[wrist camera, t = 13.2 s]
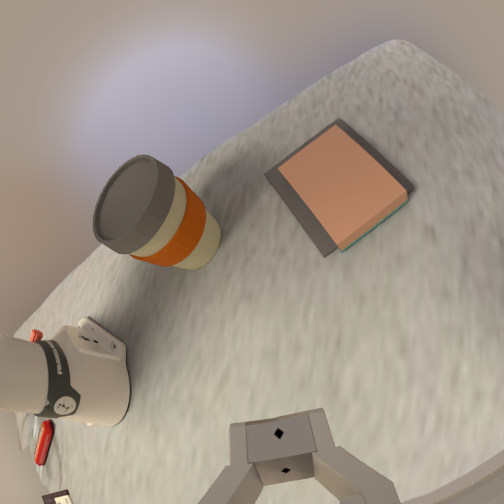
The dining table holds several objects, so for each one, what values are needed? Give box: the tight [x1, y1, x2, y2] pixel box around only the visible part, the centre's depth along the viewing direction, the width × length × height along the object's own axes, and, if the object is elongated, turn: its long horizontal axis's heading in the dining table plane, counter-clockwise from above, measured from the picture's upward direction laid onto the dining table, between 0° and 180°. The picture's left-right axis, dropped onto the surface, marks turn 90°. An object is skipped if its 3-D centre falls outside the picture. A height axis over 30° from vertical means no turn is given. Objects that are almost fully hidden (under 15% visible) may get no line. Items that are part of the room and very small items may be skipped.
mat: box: [264, 119, 415, 258], centre depth 40 cm, size 16×14×1 cm
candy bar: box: [34, 420, 52, 467], centre depth 51 cm, size 16×4×3 cm, turn 149°
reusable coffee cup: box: [93, 155, 221, 270], centre depth 42 cm, size 13×13×15 cm
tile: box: [278, 125, 408, 252], centre depth 37 cm, size 2×10×14 cm
